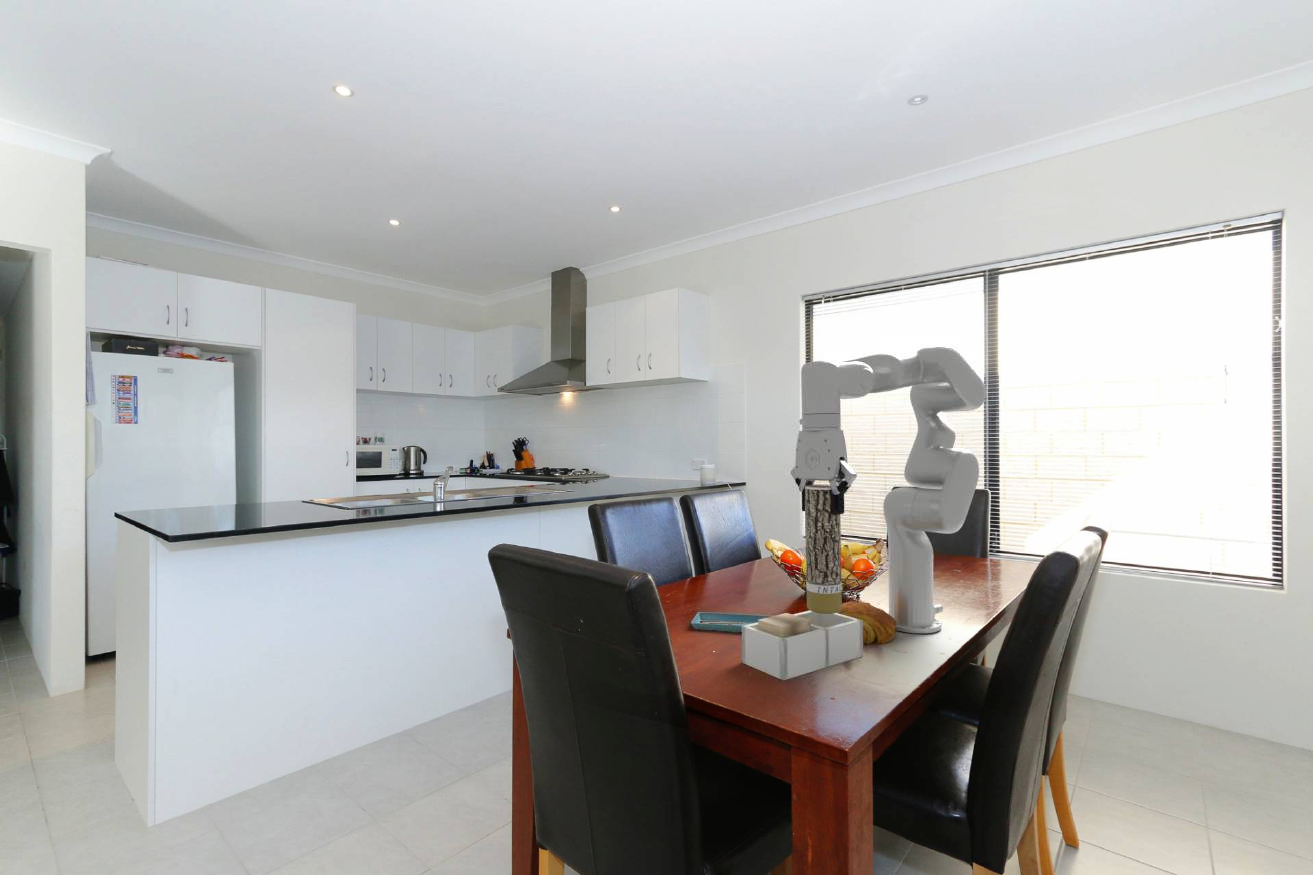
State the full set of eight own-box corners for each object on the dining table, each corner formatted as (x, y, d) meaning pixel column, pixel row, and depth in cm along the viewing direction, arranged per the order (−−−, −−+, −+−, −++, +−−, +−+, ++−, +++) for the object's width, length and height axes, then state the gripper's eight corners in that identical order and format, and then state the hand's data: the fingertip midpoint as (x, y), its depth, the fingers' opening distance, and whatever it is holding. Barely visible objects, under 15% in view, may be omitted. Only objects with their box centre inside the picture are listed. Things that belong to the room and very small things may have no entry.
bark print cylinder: (799, 608, 127) (797, 485, 127) (826, 603, 130) (824, 483, 130) (822, 616, 121) (819, 487, 121) (849, 612, 124) (847, 485, 124)
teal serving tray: (690, 631, 142) (690, 620, 142) (698, 620, 151) (698, 610, 151) (809, 640, 135) (809, 629, 135) (810, 628, 144) (810, 617, 144)
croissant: (819, 649, 135) (817, 613, 134) (839, 621, 148) (836, 588, 147) (890, 659, 127) (887, 621, 126) (904, 629, 140) (902, 594, 139)
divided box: (819, 641, 133) (819, 608, 133) (863, 655, 124) (862, 620, 124) (741, 662, 121) (741, 625, 121) (783, 680, 112) (783, 640, 112)
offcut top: (786, 627, 124) (786, 612, 124) (810, 635, 119) (810, 619, 119) (758, 635, 119) (758, 619, 119) (782, 643, 114) (782, 627, 115)
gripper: (776, 424, 131) (777, 510, 131) (843, 422, 116) (845, 518, 116) (801, 424, 135) (803, 507, 135) (869, 422, 120) (871, 515, 121)
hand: (822, 511), depth 126 cm, fingers closed on bark print cylinder, 6 cm apart
